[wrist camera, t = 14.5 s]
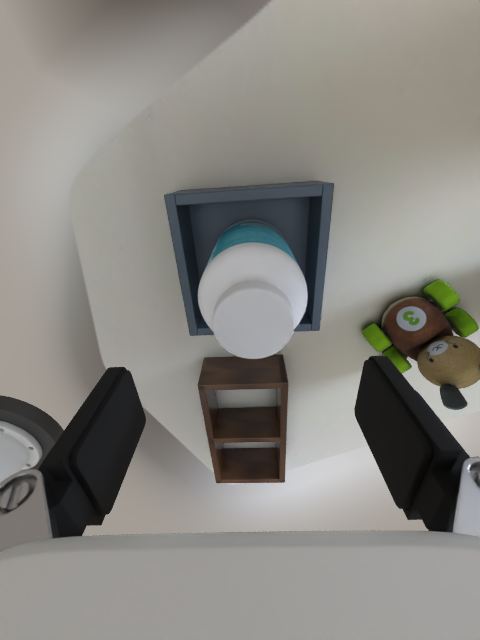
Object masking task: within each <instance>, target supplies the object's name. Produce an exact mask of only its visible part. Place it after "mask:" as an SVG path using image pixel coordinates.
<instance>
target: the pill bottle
mask: <svg viewBox="0 0 480 640" xmlns="http://www.w3.org/2000/svg"><path fill="white" fill-rule="evenodd" d="M307 299H308V292H307V285H306V281H305V278H304V276H303V273H302V271H301V269H300V267H299V265H298V263H297V261H296V259H295V257H294V256H293V254H292V252H291V250H290V248H289V246H288V243H287V241H286V240H285V238H284V236H283V235H282V234H281V232H280V231H279V230H278V229H277V228H276V227H274V226H273V225H271V224H269V223H267V222H265V221H262V220H257V219H246V220H241V221H238V222H236V223H234V224H232V225H231V226H229V227H228V228H227V229H226V230H224V231H223V233H222V234H221V235H220V237H219V238H218V240H217V242H216V244H215V247H214V249H213V251H212V254H211V256H210V259H209V261H208V263H207V266H206V268H205V270H204V273H203V275H202V278H201V280H200V284H199V288H198V304H199V308H200V311H201V314H202V316H203V318H204V320H205V322H206V323H207V325H208V326H209V328H210V329H211V330H212V331H213V333H214V335H215V338H216V339H217V341H218V343H219V344H220V345H221V346H222V347H223V348H224V349H225V350H227V351H228V352H229V353H231V354H233V355H235V356H238V357H242V358H247V359H259V358H265V357H268V356H271V355H273V354H275V353H277V352H278V351H280V350H281V349H282V348H283V347H284V346H286V344H287V343H288V342H289V340H290V339H291V337H292V334H293V331H294V329H295V328H296V327H297V325H298V324H299V323H300V321H301V319H302V317H303V315H304V313H305V310H306V306H307Z"/></svg>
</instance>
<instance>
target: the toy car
mask: <svg viewBox="0 0 480 640" xmlns="http://www.w3.org/2000/svg"><path fill="white" fill-rule="evenodd" d="M424 294H425V295H426V297H427V298H428V299H429V300H427V299H424V298H421V297H406V298H403V299H400V300H398V301H396V302H394V303H393V304H391V305H390V306H389V307H388V309H387V310H386V311H385V313H384V315H383V318H382V325H381V327H382V329H380V328H379V327H378V326H377V325H376V324H375V323H374V324H371V325H370V326H368V327H367V328H365V329H364V330H363V331H362V333H363V335H364V336H365V338H366V339H367V340H368V342H369V343H370V344H371V345H372V346H373V347H374V348H375V350H376V351H378V352H381V351H383V350H385V349H386V348H388V347H390V346H391V344H392V343H393V344H394V345H395V346H396V347H397V348H396V347H391V348H390V349H388V350H386V351H385V352H383V356H387V357H388V358H389V359H390V360H391V361H392V362H393V364H394V365H395V366H396V367H397V369H398V370H399V371H400V373H401V374H402V373H403V372H405V371H407V370H409V369H410V368H411V367H412V366H411V364H410V363H409V362H408V361H407V359H406V358H407V356H409V357H410V358H412V359H414V360H415V361H417V364H418V368H419V370H420V372H421V374H422V375H423V376H424V377H425V378H426V379H427V380H428V381H430V382H431V383H433V384H435V385H437V386H440V395H441V399H442V402H443V405H444V406H445V407H447V408H449V409H453V410H459V409H462V408H464V407H466V406H467V402H466V400H465V398H464V397H463V395H462V394H461V393H460V391H459V389H460V388H465V387H468V386H471V385H473V384H474V383H476V382H477V381H478V380H479V379H480V348H479V347H478V346H477V345H475V344H474V343H473V342H471V341H469V340H467V339H465V338H462V337H467V336H469V335H470V334H472V333H474V332H476V331H477V330H478V329H479V327H478V324H477V323H476V322H475V320H474V319H473V318H472V317H471V316H470V315H469V314H468V313H467V312H465V311H464V310H462V309H460V308H455V309H453V310H451V311H450V312H448V313H446V314H445V315H444V314H443V313H442V312H441V310H442V311H445V310H448V309H449V308H451V307H453V306H454V305H456V304H457V303H459V301H460V298H459V296H458V294H457V293H456V292H455V291H454V290H453V289H452V288H451V287H450V286H449V285H448V284H447V283H445V282H444V281H442V280H435V281H434V282H432V283H431V284H430V285H428V286H427V287H425V288H424ZM452 330H453V331H454V332H455V333H456V334H457V335H459V336H460V337H458V336H453V333H452Z"/></svg>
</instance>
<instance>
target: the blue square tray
mask: <svg viewBox="0 0 480 640" xmlns="http://www.w3.org/2000/svg"><path fill="white" fill-rule="evenodd" d="M333 190H334V183H328V182H321V181H309V182H295V183H281V184H266V185H252V186H238V187H223V188H209V189H194V190H180V191H176V192H173V193H169V194H166V195H164V198H165V203H166V209H167V214H168V219H169V225H170V230H171V236H172V241H173V246H174V252H175V257H176V262H177V268H178V273H179V279H180V284H181V289H182V295H183V300H184V306H185V311H186V316H187V322H188V327H189V333H190V336H195V335H214V333H213V331H212V330H211V329H210V328H209V326H208V325H207V323H206V322H205V320H204V318H203V316H202V314H201V311H200V308H199V304H198V288H199V284H200V280H201V278H202V275H203V273H204V270H205V268H206V266H207V263H208V261H209V259H210V256H211V254H212V251H213V249H214V247H215V244H216V242H217V240H218V238H219V237H220V235H221V234H222V233H223V231H224V230H226V229H227V228H228V227H229V226H231V225H232V224H234V223H236V222H238V221H241V220H246V219H257V220H262V221H265V222H267V223H269V224H271V225H273V226H274V227H276V228H277V229H278V230H279V231H280V232H281V234H282V235H283V236H284V238H285V240H286V241H287V243H288V246H289V248H290V250H291V252H292V254H293V256H294V257H295V259H296V261H297V263H298V265H299V267H300V269H301V271H302V273H303V276H304V278H305V281H306V285H307V292H308V299H307V306H306V310H305V313H304V315H303V317H302V319H301V321H300V323H299V324H298V325H297V327H296V328H295V329H294V331H293V332H295V331H319V330H320V320H321V310H322V300H323V290H324V280H325V270H326V260H327V250H328V240H329V230H330V220H331V210H332V200H333Z"/></svg>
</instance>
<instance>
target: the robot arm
mask: <svg viewBox="0 0 480 640" xmlns="http://www.w3.org/2000/svg"><path fill="white" fill-rule="evenodd" d="M355 417H356V419H357V421H358V424H359V426H360V428H361V430H362V432H363V434H364V437H365V439H366V441H367V443H368V445H369V447H370V449H371V452H372V454H373V456H374V458H375V460H376V463H377V465H378V467H379V469H380V471H381V473H382V476H383V478H384V480H385V482H386V484H387V486H388V489H389V491H390V493H391V495H392V497H393V499H394V502H395V504H396V505H397V507H398V508H400V509H403V511H404V513H405V515H406V517H407V519H408V520H417V519H422V520H423V522H424V524H425V526H426V528H427V529H429V531H373V530H371V531H288V532H287V531H284V532H223V533H177V534H176V533H173V534H129V535H128V534H127V535H102V536H101V535H100V536H82V534H83V532H84V530H85V528H86V526H87V525H102V522H103V520H104V517H105V515H106V514H109V513H110V511H111V510H112V507H113V505H114V502H115V500H116V497H117V495H118V492H119V490H120V487H121V484H122V482H123V479H124V477H125V475H126V472H127V469H128V467H129V464H130V462H131V459H132V457H133V454H134V452H135V449H136V447H137V444H138V442H139V439H140V436H141V434H142V431H143V429H144V426H145V422H146V418H145V414H144V411H143V408H142V405H141V402H140V399H139V396H138V393H137V390H136V387H135V384H134V381H133V378H132V375H131V372H130V371H129V370H126V368H125V367H111V368H108V369H107V370H106V372H105V373H104V375H103V376H102V377H101V379H100V380H99V382H98V383H97V385H96V386H95V388H94V389H93V390H92V392H91V393H90V395H89V396H88V397H87V399H86V400H85V402H84V403H83V405H82V406H81V407H80V409H79V410H78V412H77V413H76V415H75V416H74V417H73V419H72V420H71V422H70V423H69V425H68V426H67V427H66V429H65V430H64V432H63V433H62V434H61V436H60V437H59V439H58V440H57V442H56V443H55V444H54V446H53V447H52V449H51V450H50V452H49V453H48V454H47V456H46V457H45V459H44V460H43V462H42V464H41V465H40V467H39V468H38V470H37V469H29V468H32V467H34V466H35V465H36V464H37V463H38V462H39V460H40V459H41V457H42V449H41V446H40V444H39V443H38V441H37V440H36V439H35V438H34V437H33V436H32V435H31V434H29V433H28V432H26V431H25V430H23V429H21V428H19V427H17V426H15V425H13V424H10V423H7V422H4V421H0V640H480V457H478V456H477V457H469V455H468V454H467V453H466V452H465V450H464V449H463V448H462V447H461V445H460V444H459V443H458V442H457V440H456V439H455V438H454V437H453V435H452V434H451V433H450V432H449V430H448V429H447V428H446V427H445V425H444V424H443V423H442V422H441V420H440V419H439V418H438V417H437V415H436V414H435V413H434V412H433V410H432V409H431V408H430V407H429V405H428V404H427V403H426V402H425V400H424V399H423V398H422V397H421V395H420V394H419V393H418V392H417V391H415V390H414V389H413V388H412V386H411V385H410V384H409V383H408V381H407V380H406V379H405V378H404V376H403V375H402V374H401V373H400V371H399V370H398V369H397V367H396V366H395V365H394V364H393V362H392V361H391V360H390V359H389V358H388V357H387V356H371V357H369V359H368V360H366V361H365V362H364V366H363V370H362V375H361V380H360V385H359V390H358V395H357V400H356V405H355ZM25 469H26V470H25ZM20 470H21V471H20Z"/></svg>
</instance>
